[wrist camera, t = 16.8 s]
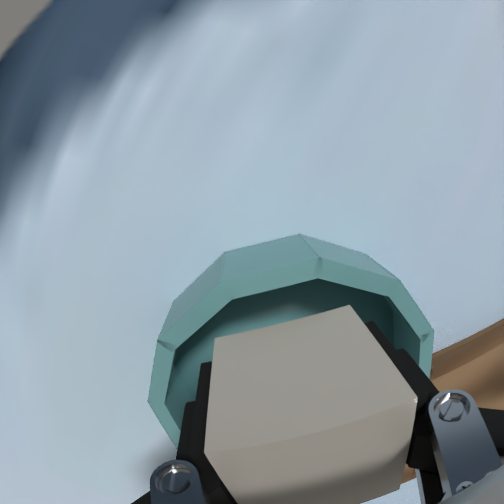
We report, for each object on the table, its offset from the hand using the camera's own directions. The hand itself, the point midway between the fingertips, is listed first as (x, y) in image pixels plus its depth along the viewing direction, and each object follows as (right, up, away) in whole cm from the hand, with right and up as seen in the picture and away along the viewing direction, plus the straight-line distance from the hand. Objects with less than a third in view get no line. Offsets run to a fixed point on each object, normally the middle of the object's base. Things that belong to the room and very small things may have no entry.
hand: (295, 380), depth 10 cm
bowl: (0, -1, +5) cm, 5 cm away
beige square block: (0, 0, 0) cm, 0 cm away
